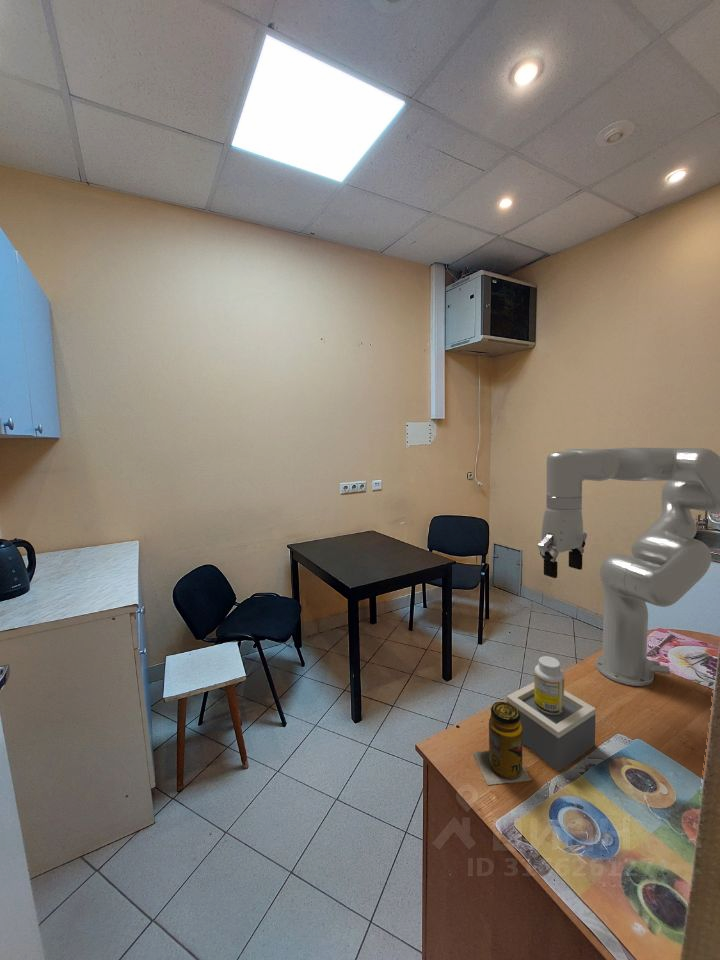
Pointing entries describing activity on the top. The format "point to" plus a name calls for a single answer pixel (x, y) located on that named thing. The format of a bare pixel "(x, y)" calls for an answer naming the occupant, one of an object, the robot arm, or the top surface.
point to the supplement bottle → (549, 686)
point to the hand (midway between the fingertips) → (563, 572)
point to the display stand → (555, 728)
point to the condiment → (503, 747)
